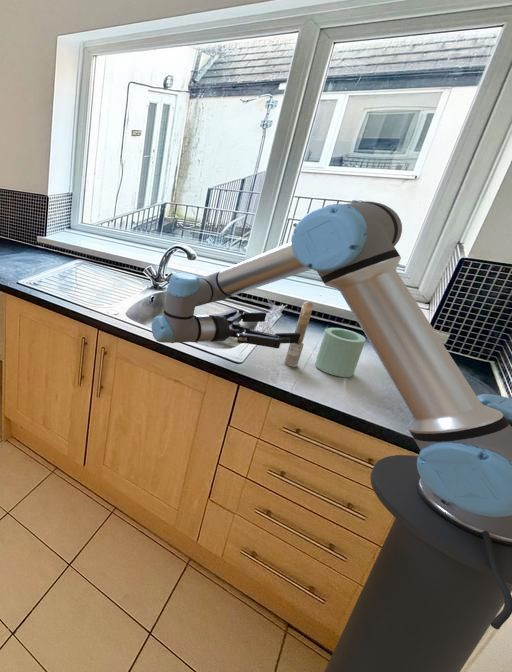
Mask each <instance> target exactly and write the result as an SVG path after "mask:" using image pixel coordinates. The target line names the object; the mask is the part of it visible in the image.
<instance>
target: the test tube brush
mask: <svg viewBox="0 0 512 672" xmlns="http://www.w3.org/2000/svg"><path fill="white" fill-rule="evenodd" d="M267 302H271V299H269V298H268V299H267ZM268 306H270V309H269V310H268V311H267V314H266V318H265V321H264V322H258V324H256V326H255V327H254V328H253V330H256V331H261V332H265V333H269V334H275V333H274V330H273V329H272V326H273V324H274V323H275V322H276V321H278V319H279V321H285V317H284V314H283V313H282V312H283V311H284V309H285V307H287V306H288V304H286V305H284V304H283V303H282V304H281V305H280V306H279V305H276V304H275V303H268ZM272 316H276V318H275V319H271V318H272ZM284 324H285V325H286V324H287V323H286V322H284Z"/></svg>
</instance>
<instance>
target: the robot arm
mask: <svg viewBox="0 0 512 672" xmlns="http://www.w3.org/2000/svg"><path fill="white" fill-rule="evenodd" d="M402 233H403V223H402V221H401V218H400V217H399V215H398V213H397V212H396V211H395V210H394V209H393V208H391V207H390V206H388V205H386V204H383V203H381V202H375V201H371V200H370V201H369V200H368V201H367V200H365V201H355V202H350V203H334V204H329V205H325V206H323V207H320V208H317V209H314V210H312V211H310V212H308V213H307V214H305V215H304V216H303V217H302V218H301V219H300V220H299V221H298V222H297V223H296V225H295V227H294V230H293V233H292V234H291V239H290V240H291V241H290V242H287V243H285V244H283V245H280V246H278V247H275V248H273V249H271V250H268V251H266V252H263V253H261V254H258V255H256V256H253V257H251V258H248V259H246V260H243V261H241V262H238V263H236V264H234V265H231V266H228V267H227V268H224V269H222V270H219V271H217V272H213V273H212V274H209V275H206V276H201V277H198V276H197V275H195V274H192V273H189V272H175V273H173V274H171V276H170V277H169V281H168V285H167V287H166V295H165V304H164V309H163V313H162V315H161V314H159V315H157V316H155V317H154V318H153V320H152V321H151V333H152V337H153V339H154V340H156V341H157V342H158V343H166V344H175V343H179V344H180V343H196V344H197V343H209V342H210V343H223V342H225V341H227V340H228V339H229V338H234V339H237V343H238V344H247V345H248V344H249V345H255V346H261V347H266V348H273V349H280V348H281V345H282V344H290V343H298V341H299V338H300V335H301V334H300V333H295V332H281V333H279V332H276V333H271V334H270V332H269V333H265V332H266V331H264V332H262V330H261V331H256V330H257V329H256V330H254V329H252V328H250V326H247V325H242V324H241V323H240V322H241V321H242V323H259V322H260V323H261V322H264V321H265V320H266V319H267V316H266V314H268V312H264V311H263V312H260V311H259V312H244V309H231V310H227V311H224V312H221V313H214V314H195V309H196V307H199V306H203V305H207V304H210V303H215V302H221V301H224V300H227V299H228V298H231V297H233V296H236V295H239V294H242V293H245V292H248V291H251V290H254V289H257V288H260V287H264V286H267V285H269V284H272V283H275V282H278V281H282V280H284V279H287V278H290V277H294V276H296V275H300V274H302V273H306V272H308V271H311V270H312V271H316V273H317V274H318V276H319V278H320V279H321V281H322V283H323V284H324V286H326V287H329V288H331V289H335V290H337V291H339V292H340V294H341V295H342V298H343V299H344V301H345V302H346V305H347V306H348V308H349V309H350V311H351V313H352V315H353V316H354V317H355V320H356V321H357V323H358V325H359V326H360V328H361V330H362V331H363V333H364V334H365V338H366V339H367V340H368V342H369V343H370V346H371V347H372V349H373V350H374V353H375V354H376V355H377V357H378V359H379V361H380V362H381V364H382V366H383V368H384V369H385V371H386V373H387V374H388V376H389V378H390V380H391V381H392V383H393V385H394V386H395V388H396V390H397V392H398V393H399V395H400V396H401V398H402V400H403V402H404V404H405V405H406V406H407V408H408V410H409V412H410V414H411V415H412V418H411V420H410V421H409V424H408V425H407V429H408V431H409V433H410V434H411V437H412V438H413V440H414V442H415V443H416V446H417V447H418V449H419V450H420V451H419V453H418V455H417V456H418V458H417V469H418V472H419V475H420V477H421V478H420V480H419V482H418V484H417V492H418V494H419V496H420V497H421V499H422V500H423V501H424V502H425V504H426V505H427V506H428V507H430V508H431V509H432V510H433V511H434V512H435V513H437V514H438V515H439V516H441V517H442V518H443V519H445V520H446V521H448V522H449V523H451V524H453V525H454V526H456V527H458V528H460V529H462V530H464V531H465V532H468V533H470V534H472V535H474V536H476V537H479V538H481V539H484V542H485V546H486V550H487V554H488V558H489V563H490V566H491V570H492V572H493V575H494V577H495V579H496V581H497V583H498V585H499V586H500V588H501V590H502V593H503V595H504V601H505V602H504V604H503V607H502V609H501V610H500V611H499V612H498V614H497V615H496V617H495V618H494V620H493V621H492V622H491V625H490V627H492V628H493V629H494V630H500V628H501V627H503V625H504V624H505V623H506V622H507V621H508V619H509V618H510V617H511V616H512V592H511V593H510V591H509V589H508V587H507V586H506V584H505V582H504V580H503V578H502V576H501V574H500V571H499V568H498V564H497V560H496V556H495V552H494V549H493V545H492V543H496V544H499V545H503V546H509V547H512V398H511V397H507V396H503V395H498V394H492V393H491V394H490V393H482V394H479V395H476V393H475V391H474V390H473V388H472V387H471V385H470V384H469V382H468V381H467V379H466V377H465V376H464V374H463V373H462V370H460V368H459V366H458V365H457V363H456V362H455V360H454V359H453V357H452V356H451V354H450V352H449V351H448V349H447V347H446V346H445V345H444V343H443V341H442V340H441V338H440V337H439V335H438V334H437V332H436V330H435V328H434V327H433V326H432V324H431V322H430V321H429V319H428V317H427V316H426V314H425V313H424V312H423V309H421V306H420V305H419V303H418V302H417V300H415V299H416V298H415V297H414V296H413V294H412V293H411V292H410V290H409V288H408V287H407V285H406V283H405V282H404V280H403V278H402V277H401V276H400V273H398V270H397V268H398V266H399V263H400V261H401V260H402V257H401V255H400V253H399V251H398V250H397V248H396V245H398V243H399V241H400V239H401V237H402ZM194 314H195V315H194Z"/></svg>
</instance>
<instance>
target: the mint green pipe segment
mask: <svg viewBox="0 0 512 672" xmlns="http://www.w3.org/2000/svg"><path fill="white" fill-rule="evenodd" d="M366 339H367V338H366V337H365V336H364V335H362V334H360V333H358V332H356V331H353V330H349V329H345V328H341V327H328V328H326V329H325V331H324V334H323V337H322V340H321V343H320V346H319V349H318V353H317V356H316V358H315V362H314V365H315V367H316V368H318V369H319V370H321V371H322V372H324V373H326V374H329V375H332V376H336V377H341V378H350V377H352V376H354V374H355V371H356V368H357V366H358V363H359V360H360V357H361V355H362V352H363V349H364V346H365V344H366Z"/></svg>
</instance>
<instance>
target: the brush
mask: <svg viewBox="0 0 512 672" xmlns="http://www.w3.org/2000/svg"><path fill="white" fill-rule="evenodd" d="M313 308H314V304H313V302H311V301H304V302H303V303H302V306H301V309H300V313H299V316H298V320H297V323H296V327H295V329H294V333H300V334H301V335H300V338H299V341H298V343H289V344H288V348H287V352H286V355H285V359H284V364H285V365H286V366H288V367H293V368H295V367H298V365H299V361H300V358H301V355H302V351H303V348H304V345H305V344H304V343H303V342H304V339H305V336H306V332H307V329H308V326H309V322H310V319H311V315H312V312H313Z"/></svg>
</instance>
